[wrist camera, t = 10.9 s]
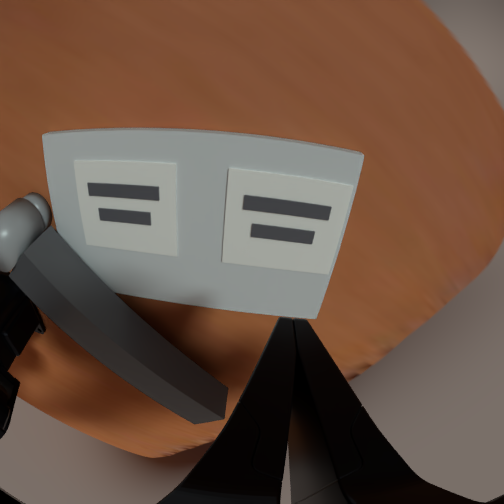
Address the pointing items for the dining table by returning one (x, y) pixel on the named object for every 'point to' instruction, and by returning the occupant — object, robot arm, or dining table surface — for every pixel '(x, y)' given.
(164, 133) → the label board
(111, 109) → the dining table surface
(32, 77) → the dining table surface
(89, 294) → the bar
